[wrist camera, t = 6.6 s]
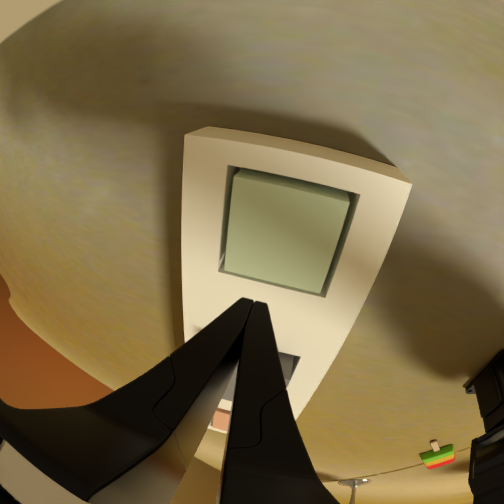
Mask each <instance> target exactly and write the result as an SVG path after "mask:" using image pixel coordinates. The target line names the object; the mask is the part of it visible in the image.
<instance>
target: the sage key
mask: <svg viewBox="0 0 504 504" xmlns="http://www.w3.org/2000/svg"><path fill="white" fill-rule="evenodd" d="M349 203H350V202H349V197H348V193H347V191H346V190H342V189H338V188H334V187H330V186H326V185H322V184H318V183H314V182H310V181H306V180H301V179H297V178H292V177H288V176H283V175H278V174H274V173H269V172H264V171H259V170H253V169H248V168H242V169H241V170H240V171H239V172H238V173H237V174H236V175H235V176H234V178H233V187H232V196H231V205H230V215H229V225H228V235H227V245H226V255H225V266H224V270H225V271H229V272H233V273H237V274H241V275H245V276H249V277H253V278H257V279H261V280H266V281H270V282H274V283H278V284H282V285H286V286H290V287H295V288H299V289H303V290H307V291H312V292H316V293H320V292H321V289H322V287H323V284H324V281H325V278H326V275H327V272H328V269H329V267H330V264H331V261H332V258H333V255H334V252H335V249H336V246H337V242H338V239H339V236H340V233H341V230H342V227H343V223H344V220H345V217H346V214H347V210H348V207H349Z"/></svg>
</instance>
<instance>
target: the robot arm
mask: <svg viewBox="0 0 504 504" xmlns="http://www.w3.org/2000/svg"><path fill="white" fill-rule="evenodd" d="M238 361H239V362H238ZM237 364H238V368H237V374H236V380H235V387H234V393H233V399H232V406H231V412H230V418H229V424H228V431H227V437H226V443H225V449H224V456H223V462H222V468H221V474H220V481H219V487H218V493H217V499H216V504H340V503H339V502H338V501H337V500H336V499H335V498H334V496H333V495H332V494H331V493H330V492H329V491H328V490H327V489H326V488H325V486H324V485H323V484H322V482H321V481H320V479H319V478H318V476H317V474H316V472H315V470H314V468H313V465H312V463H311V460H310V458H309V455H308V453H307V450H306V448H305V445H304V443H303V440H302V437H301V435H300V432H299V430H298V427H297V424H296V421H295V418H294V415H293V411H292V408H291V404H290V400H289V396H288V391H287V390H286V388H287V387H286V383H285V378H284V374H283V369H282V365H281V361H280V356H279V352H278V347H277V343H276V338H275V334H274V330H273V325H272V321H271V316H270V312H269V308H268V304H267V303H265V302H261V301H255V302H254V300H253V299H249V298H245V297H241V298H240V299H238V300H237V301H236V302H235V303H234V304H232V305H231V306H230V307H229V308H228V309H226V310H225V311H224V312H223V313H221V314H220V315H219V316H218V317H216V318H215V319H214V320H213V321H212V322H210V323H209V324H208V325H207V326H205V327H204V328H203V329H202V330H200V331H199V332H198V333H197V334H195V335H194V336H193V337H192V338H190V339H189V340H188V341H187V342H185V343H184V344H183V345H182V346H180V347H179V348H178V349H177V350H175V351H174V352H173V353H171V354H170V357H169V356H167V357H166V358H165V359H164V360H162V361H161V362H160V363H159V364H157V365H156V366H154V367H153V368H152V369H150V370H149V371H147V372H146V373H144V374H143V375H141V376H140V377H138V378H136V379H135V380H133V381H131V382H130V383H128V384H126V385H124V386H123V387H121V388H119V389H117V390H116V391H114V392H112V393H110V394H109V395H107V396H105V397H103V398H101V399H99V400H98V401H95V402H93V403H90V404H87V405H83V406H78V407H66V408H50V409H18V408H14V407H12V406H9V405H7V404H6V403H5V402H4V401H2V399H1V398H0V504H169V503H170V501H171V499H172V497H173V495H174V494H175V492H176V489H177V488H178V486H179V484H180V482H181V480H182V478H183V476H184V474H185V472H186V469H187V468H188V466H189V464H190V462H191V460H192V458H193V456H194V454H195V452H196V450H197V448H198V446H199V444H200V442H201V440H202V438H203V436H204V434H205V432H206V430H207V428H208V426H209V424H210V422H211V420H212V418H213V416H214V414H215V411H216V409H217V407H218V405H219V403H220V401H221V399H222V397H223V395H224V392H225V390H226V388H227V386H228V384H229V382H230V380H231V377H232V375H233V373H234V371H235V369H236V366H237ZM465 390H466V393H467V394H476V396H477V401H478V405H479V410H480V415H481V418H483V422H484V428H485V433H486V434H484V435H482V436H480V437H478V438H475V439H473V440H472V444H471V454H470V469H469V479H468V483H469V485H470V488H471V491H472V493H473V495H474V501H473V504H504V350H502V351H500V352H499V354H498V355H497V356H496V357H495V358H494V359H493V360H492V362H491V363H490V364H489V365H488V366H487V367H486V368H485V369H484V370H483V371H482V372H481V374H480V375H479V376H478V377H477V378H476V379H475V380H474V381H473V382H472V383H471V384H470V385H469V386H468V387H467V388H466V389H465Z"/></svg>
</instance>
